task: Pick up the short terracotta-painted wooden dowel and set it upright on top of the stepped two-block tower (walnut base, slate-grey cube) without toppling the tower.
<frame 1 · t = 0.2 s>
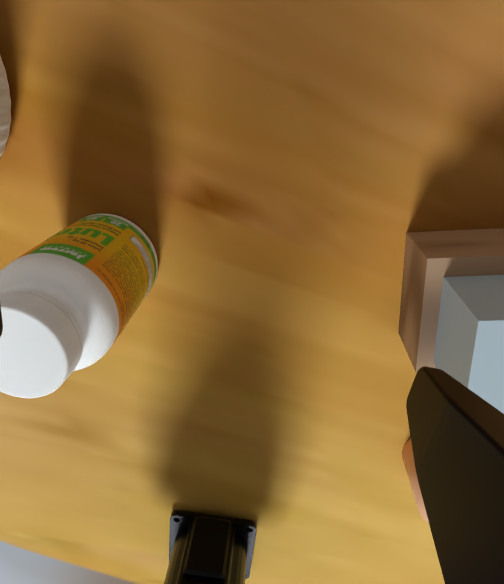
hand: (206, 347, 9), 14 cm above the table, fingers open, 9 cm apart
slate block: (488, 319, 20), point 4 cm above the table, touching walnut base block
walnut base block: (458, 281, 23), on the table, touching slate block
terracotta dowel: (433, 452, 28), on the table
supplement bottle: (114, 257, 24), on the table
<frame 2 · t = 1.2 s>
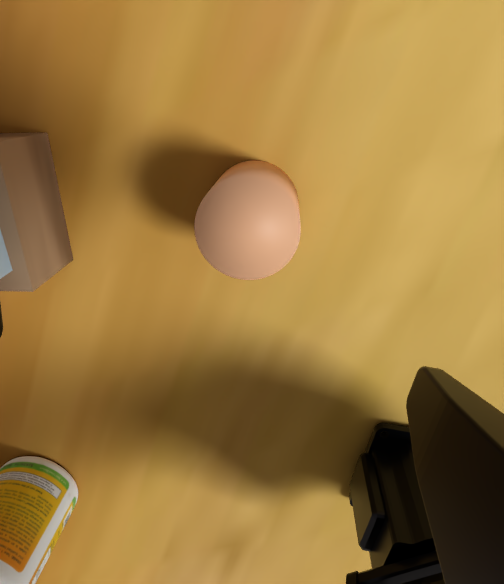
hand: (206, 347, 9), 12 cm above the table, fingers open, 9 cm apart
walnut base block: (3, 198, 21), on the table, touching slate block
terracotta dowel: (254, 205, 20), on the table
supplement bottle: (42, 480, 29), on the table
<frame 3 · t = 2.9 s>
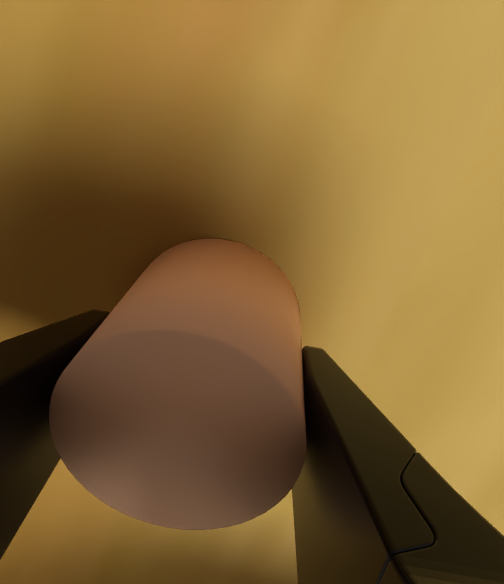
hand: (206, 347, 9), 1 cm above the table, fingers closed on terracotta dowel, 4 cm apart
terracotta dowel: (215, 318, 10), on the table, touching gripper
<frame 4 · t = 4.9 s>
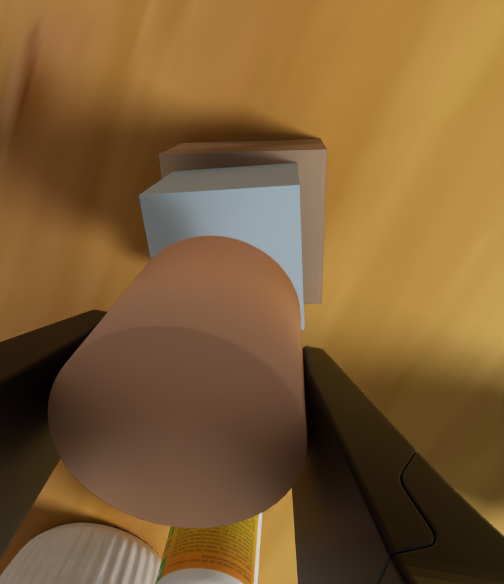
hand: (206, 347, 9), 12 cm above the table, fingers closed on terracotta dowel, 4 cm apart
slate block: (239, 227, 16), point 4 cm above the table
ramekin: (102, 566, 33), on the table
walnut base block: (253, 207, 20), on the table
terracotta dowel: (215, 316, 10), point 11 cm above the table, touching gripper
supplement bottle: (222, 493, 28), on the table
when the fingers open (10 cm above the table, at t = 5.4 s): terracotta dowel drops 1 cm, resting on slate block.
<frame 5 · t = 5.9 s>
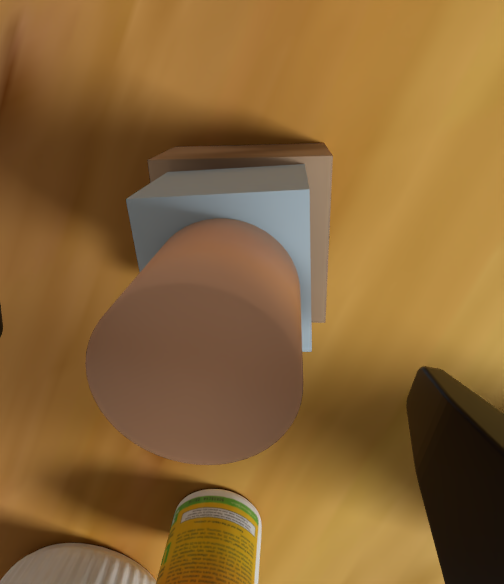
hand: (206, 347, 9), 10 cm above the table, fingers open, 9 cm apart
slate block: (240, 234, 15), point 4 cm above the table, touching terracotta dowel, walnut base block
walnut base block: (251, 216, 19), on the table, touching slate block
terracotta dowel: (224, 291, 12), point 8 cm above the table, touching slate block
supplement bottle: (219, 513, 27), on the table
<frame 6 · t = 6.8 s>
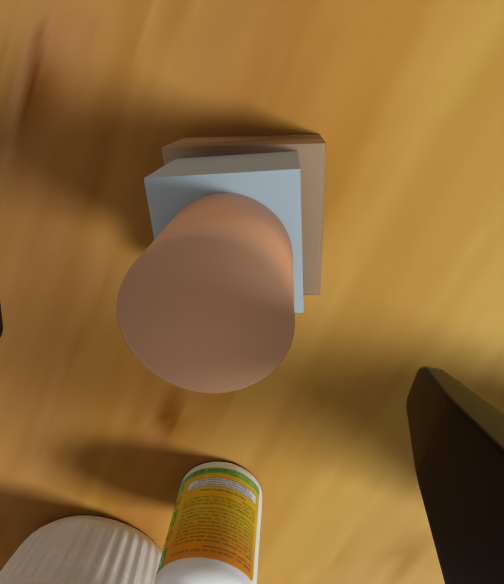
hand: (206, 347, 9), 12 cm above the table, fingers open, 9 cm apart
slate block: (241, 214, 17), point 4 cm above the table, touching terracotta dowel, walnut base block
ramekin: (103, 558, 33), on the table
walnut base block: (253, 202, 21), on the table, touching slate block
terracotta dowel: (227, 257, 13), point 8 cm above the table, touching slate block
supplement bottle: (222, 486, 29), on the table
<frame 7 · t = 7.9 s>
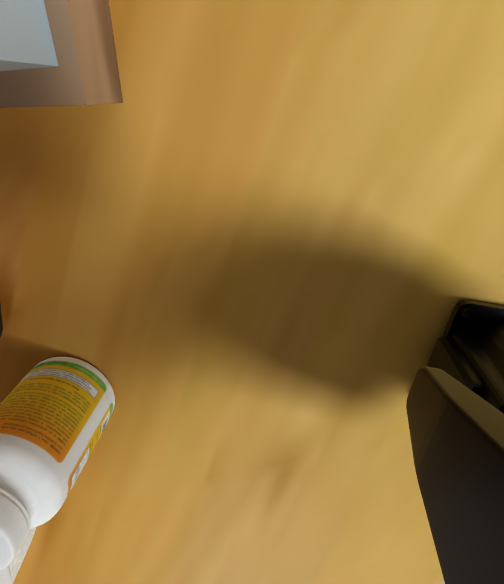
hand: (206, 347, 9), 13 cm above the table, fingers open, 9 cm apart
walnut base block: (44, 26, 18), on the table
supplement bottle: (74, 389, 26), on the table
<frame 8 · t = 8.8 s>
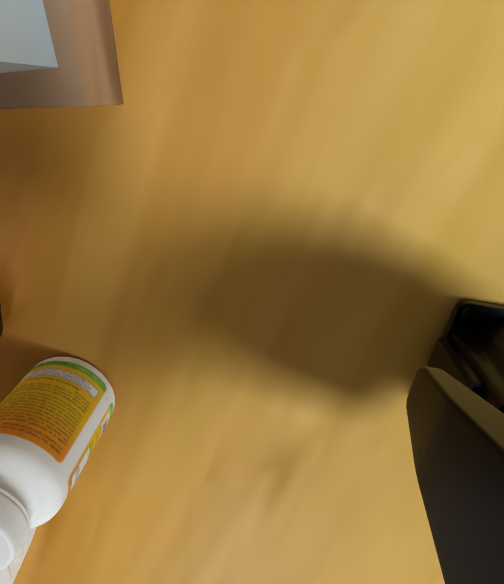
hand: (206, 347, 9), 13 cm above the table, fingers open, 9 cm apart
walnut base block: (44, 27, 18), on the table, touching slate block
supplement bottle: (74, 389, 26), on the table
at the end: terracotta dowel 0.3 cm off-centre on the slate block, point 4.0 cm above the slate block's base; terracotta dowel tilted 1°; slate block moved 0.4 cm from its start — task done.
